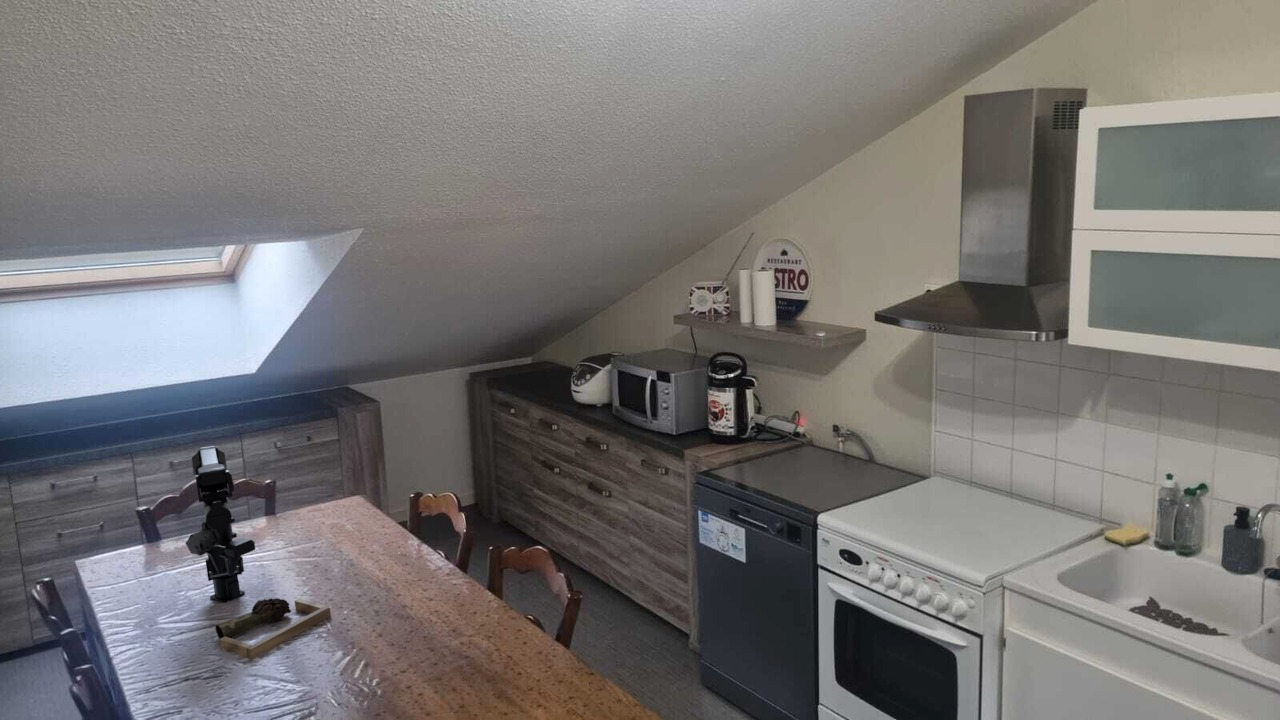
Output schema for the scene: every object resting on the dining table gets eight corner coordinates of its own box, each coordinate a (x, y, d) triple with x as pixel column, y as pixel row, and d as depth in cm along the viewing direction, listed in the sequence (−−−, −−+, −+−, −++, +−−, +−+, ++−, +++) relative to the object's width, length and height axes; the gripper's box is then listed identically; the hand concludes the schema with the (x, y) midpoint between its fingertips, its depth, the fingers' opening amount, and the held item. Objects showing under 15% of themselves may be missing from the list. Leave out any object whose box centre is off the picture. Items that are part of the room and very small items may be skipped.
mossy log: (224, 645, 231) (221, 623, 230) (213, 636, 236) (210, 615, 235) (293, 618, 244) (291, 597, 242) (281, 610, 248) (279, 590, 247)
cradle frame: (220, 648, 229) (219, 639, 228) (300, 607, 249) (299, 598, 249) (252, 659, 223) (250, 649, 223) (330, 615, 244) (329, 606, 243)
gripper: (165, 521, 237) (173, 580, 240) (214, 533, 228) (222, 593, 231) (204, 507, 246) (212, 563, 249) (253, 517, 237) (260, 576, 240)
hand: (225, 574), depth 242 cm, fingers open, 4 cm apart
